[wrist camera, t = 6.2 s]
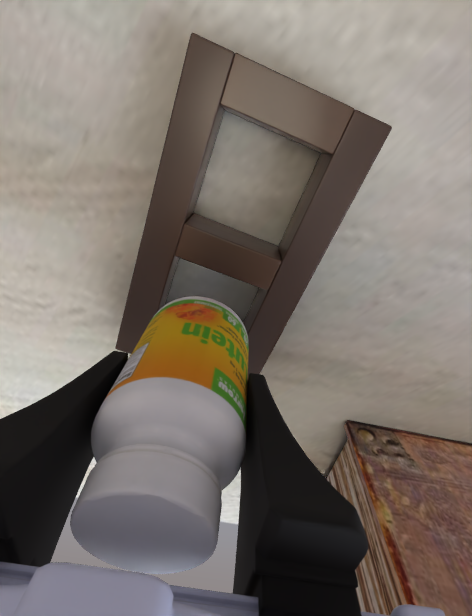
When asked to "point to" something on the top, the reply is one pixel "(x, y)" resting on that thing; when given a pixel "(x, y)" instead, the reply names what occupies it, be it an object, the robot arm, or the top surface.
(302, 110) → the hole block
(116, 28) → the top surface
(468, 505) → the book
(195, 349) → the supplement bottle
